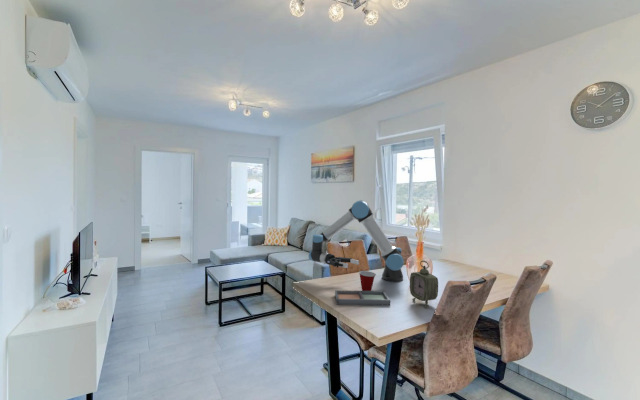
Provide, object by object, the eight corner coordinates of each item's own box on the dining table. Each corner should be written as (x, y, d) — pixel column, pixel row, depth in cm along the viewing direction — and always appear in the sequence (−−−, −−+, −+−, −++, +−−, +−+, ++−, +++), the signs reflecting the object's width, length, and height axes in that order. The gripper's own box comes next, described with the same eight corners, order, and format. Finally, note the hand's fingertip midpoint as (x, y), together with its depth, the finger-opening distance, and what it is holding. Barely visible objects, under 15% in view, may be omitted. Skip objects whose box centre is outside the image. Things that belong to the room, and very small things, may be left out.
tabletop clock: (409, 300, 180) (410, 258, 179) (421, 298, 183) (423, 257, 182) (425, 309, 166) (427, 264, 166) (439, 307, 170) (440, 263, 169)
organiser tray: (383, 295, 187) (384, 291, 187) (390, 305, 172) (390, 300, 171) (335, 295, 186) (335, 290, 186) (337, 304, 171) (337, 299, 171)
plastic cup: (375, 294, 189) (375, 275, 188) (357, 293, 191) (358, 274, 190) (375, 289, 199) (376, 271, 199) (359, 287, 201) (359, 269, 201)
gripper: (337, 261, 224) (362, 266, 211) (316, 267, 205) (342, 273, 191) (338, 251, 224) (363, 255, 210) (316, 256, 204) (342, 261, 191)
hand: (353, 264), depth 201 cm, fingers open, 13 cm apart
